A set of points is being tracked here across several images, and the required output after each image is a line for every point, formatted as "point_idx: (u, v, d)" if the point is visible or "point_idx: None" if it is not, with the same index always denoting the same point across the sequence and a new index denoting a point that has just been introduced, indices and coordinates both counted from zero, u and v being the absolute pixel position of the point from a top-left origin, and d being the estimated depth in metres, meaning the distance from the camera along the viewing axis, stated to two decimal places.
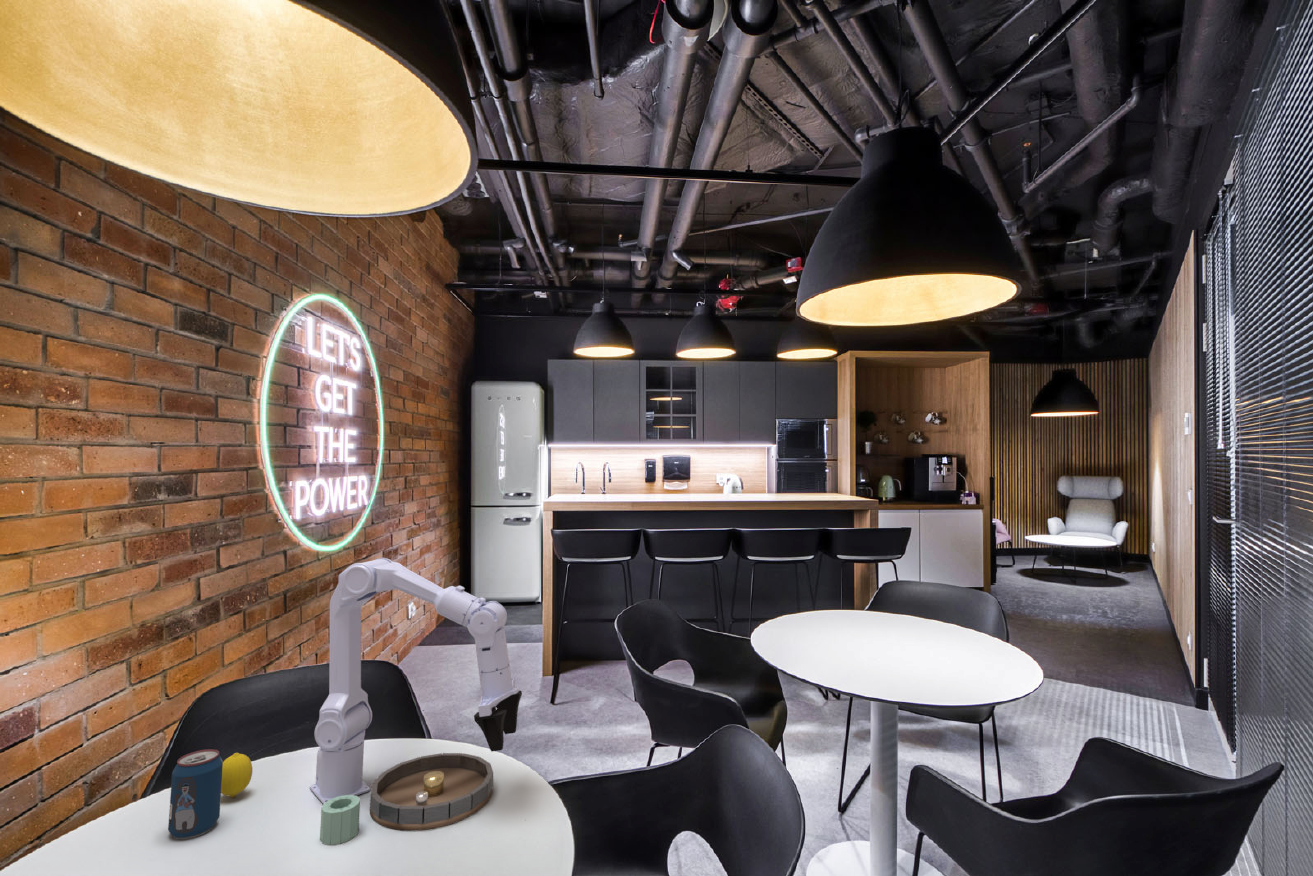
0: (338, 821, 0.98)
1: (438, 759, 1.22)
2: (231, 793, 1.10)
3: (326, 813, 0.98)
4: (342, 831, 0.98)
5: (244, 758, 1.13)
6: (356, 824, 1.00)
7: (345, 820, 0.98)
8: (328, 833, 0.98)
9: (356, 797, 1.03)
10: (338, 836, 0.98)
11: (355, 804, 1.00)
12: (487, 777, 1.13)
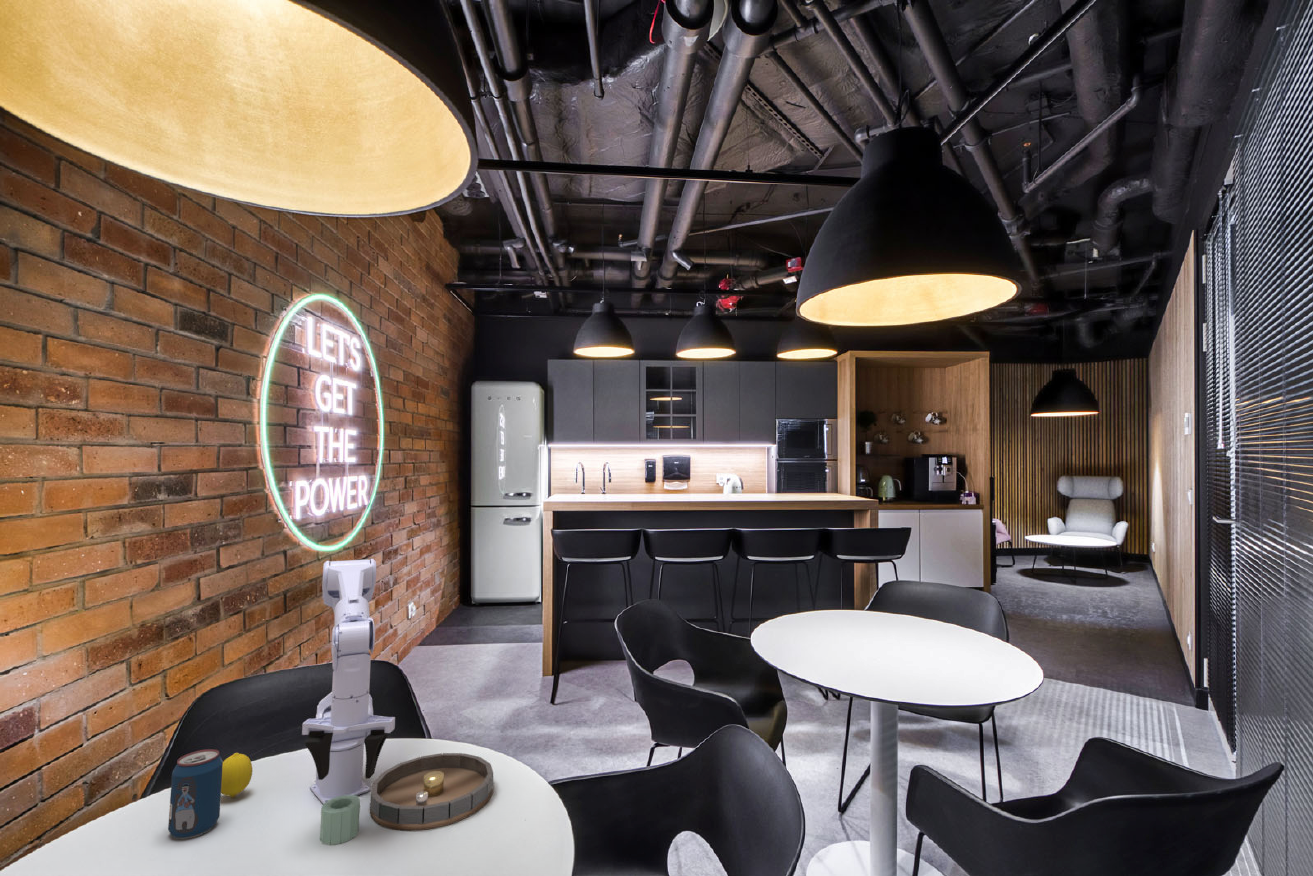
0: (338, 821, 0.98)
1: (438, 759, 1.22)
2: (231, 793, 1.10)
3: (326, 813, 0.98)
4: (342, 831, 0.98)
5: (244, 758, 1.13)
6: (356, 824, 1.00)
7: (345, 820, 0.98)
8: (328, 833, 0.98)
9: (356, 797, 1.03)
10: (338, 836, 0.98)
11: (355, 804, 1.00)
12: (487, 777, 1.13)
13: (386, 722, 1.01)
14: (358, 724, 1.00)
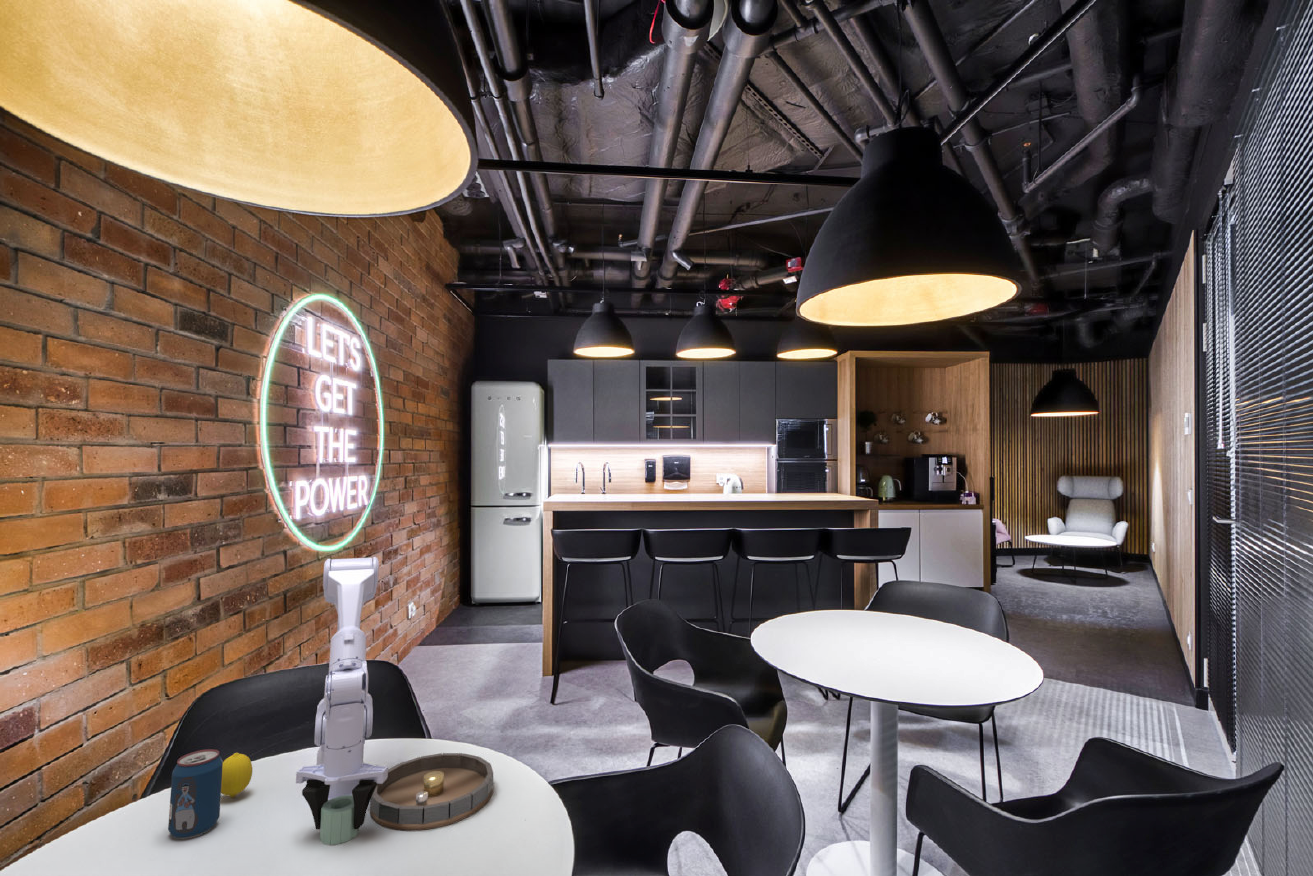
0: (338, 821, 0.98)
1: (438, 759, 1.22)
2: (231, 793, 1.10)
3: (326, 813, 0.98)
4: (342, 831, 0.98)
5: (244, 758, 1.13)
6: None
7: (345, 820, 0.98)
8: (328, 833, 0.98)
9: None
10: (338, 836, 0.98)
11: None
12: (487, 777, 1.13)
13: (378, 772, 1.00)
14: (350, 774, 0.99)
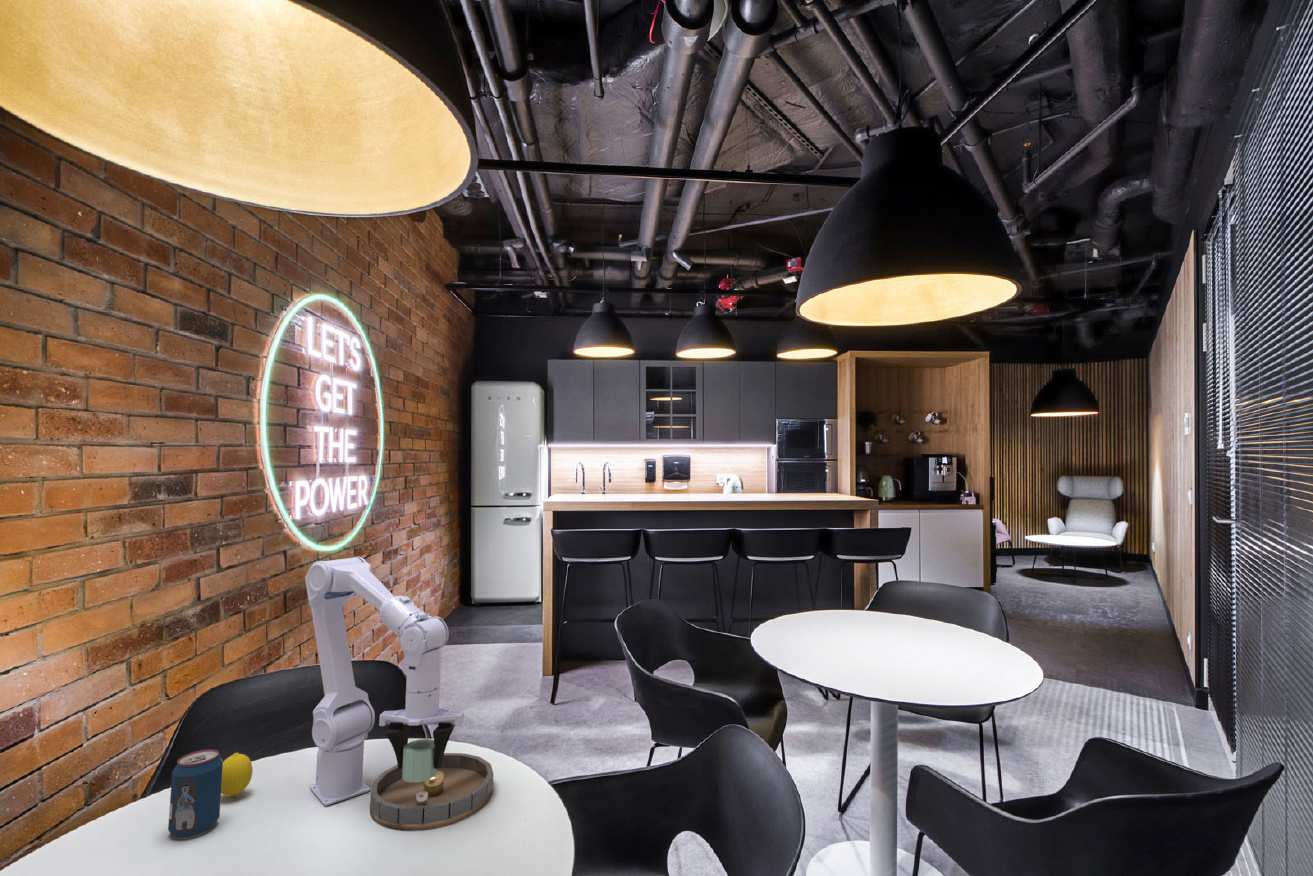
0: (419, 760, 1.04)
1: None
2: (231, 793, 1.10)
3: (408, 753, 1.04)
4: (423, 770, 1.04)
5: (244, 758, 1.13)
6: None
7: (426, 760, 1.05)
8: (410, 771, 1.04)
9: (433, 741, 1.09)
10: (420, 775, 1.04)
11: (434, 746, 1.07)
12: (487, 777, 1.13)
13: (456, 716, 1.07)
14: (430, 717, 1.06)
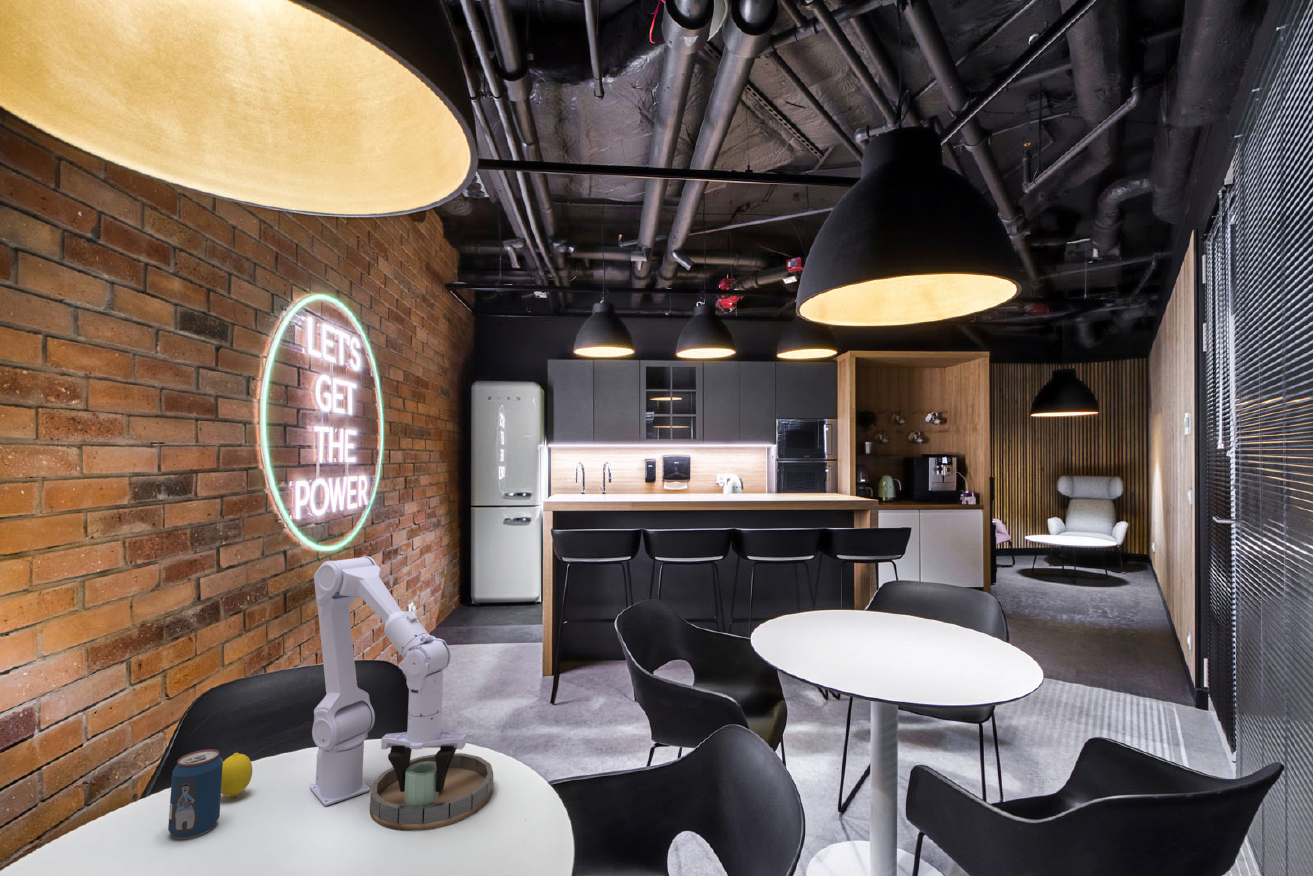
0: (421, 784, 1.04)
1: None
2: (231, 793, 1.10)
3: (410, 777, 1.04)
4: (425, 794, 1.04)
5: (244, 758, 1.13)
6: None
7: (428, 783, 1.05)
8: (413, 795, 1.04)
9: (435, 763, 1.09)
10: (422, 799, 1.04)
11: (436, 770, 1.07)
12: (487, 777, 1.13)
13: (458, 739, 1.07)
14: (433, 740, 1.06)
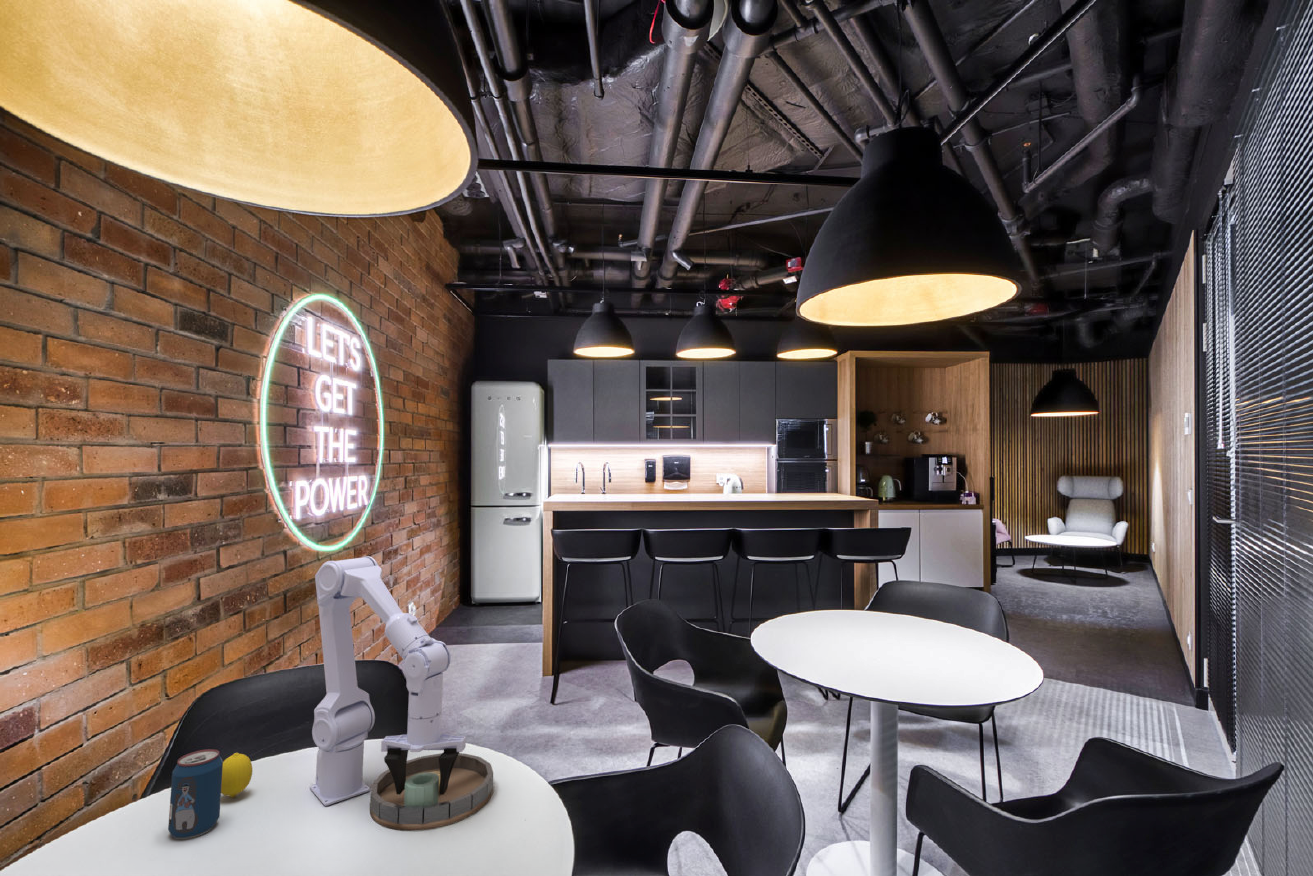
0: (421, 795, 1.04)
1: (438, 759, 1.22)
2: (231, 793, 1.10)
3: (410, 788, 1.04)
4: (425, 805, 1.04)
5: (244, 758, 1.13)
6: (436, 799, 1.06)
7: (427, 795, 1.05)
8: None
9: (435, 774, 1.09)
10: None
11: (436, 781, 1.06)
12: (487, 777, 1.13)
13: (458, 741, 1.07)
14: (432, 743, 1.06)
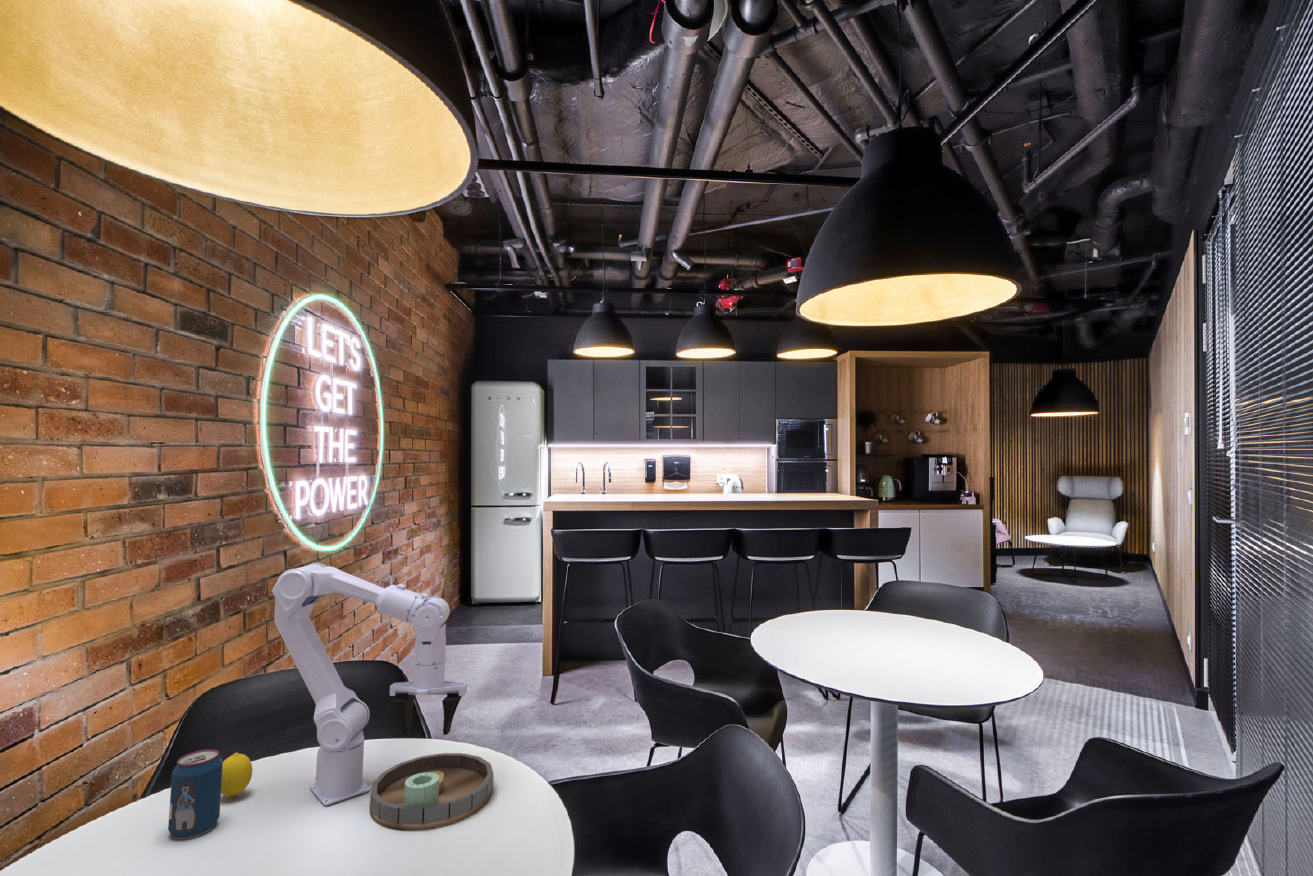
0: (421, 795, 1.04)
1: (438, 759, 1.22)
2: (231, 793, 1.10)
3: (410, 788, 1.04)
4: (425, 805, 1.04)
5: (244, 758, 1.13)
6: (436, 799, 1.06)
7: (427, 795, 1.05)
8: None
9: (435, 774, 1.09)
10: None
11: (436, 781, 1.06)
12: (487, 777, 1.13)
13: (460, 686, 1.16)
14: (437, 687, 1.15)
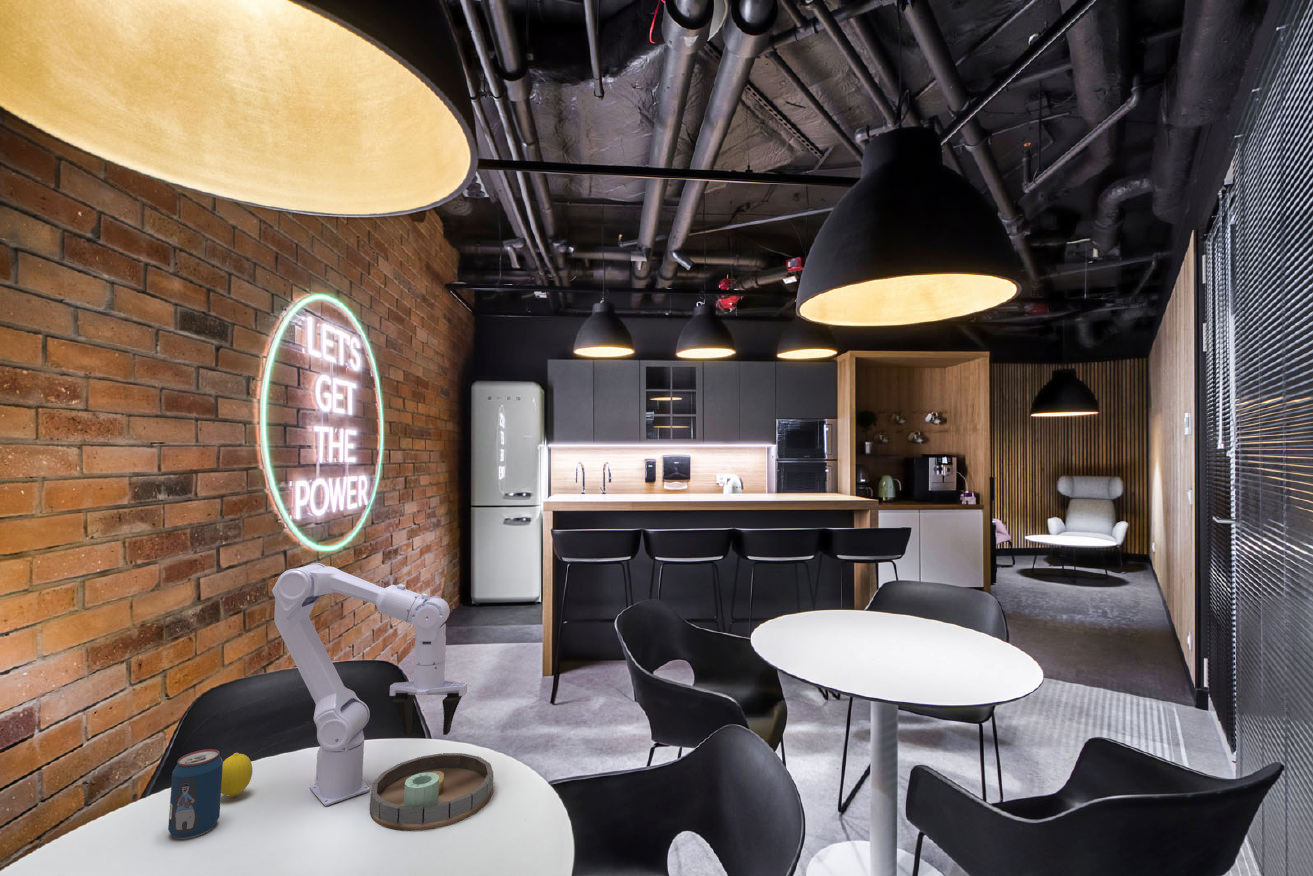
0: (421, 795, 1.04)
1: (438, 759, 1.22)
2: (231, 793, 1.10)
3: (410, 788, 1.04)
4: (425, 805, 1.04)
5: (244, 758, 1.13)
6: (436, 799, 1.06)
7: (427, 795, 1.05)
8: None
9: (435, 774, 1.09)
10: None
11: (436, 781, 1.06)
12: (487, 777, 1.13)
13: (460, 686, 1.16)
14: (437, 687, 1.15)
